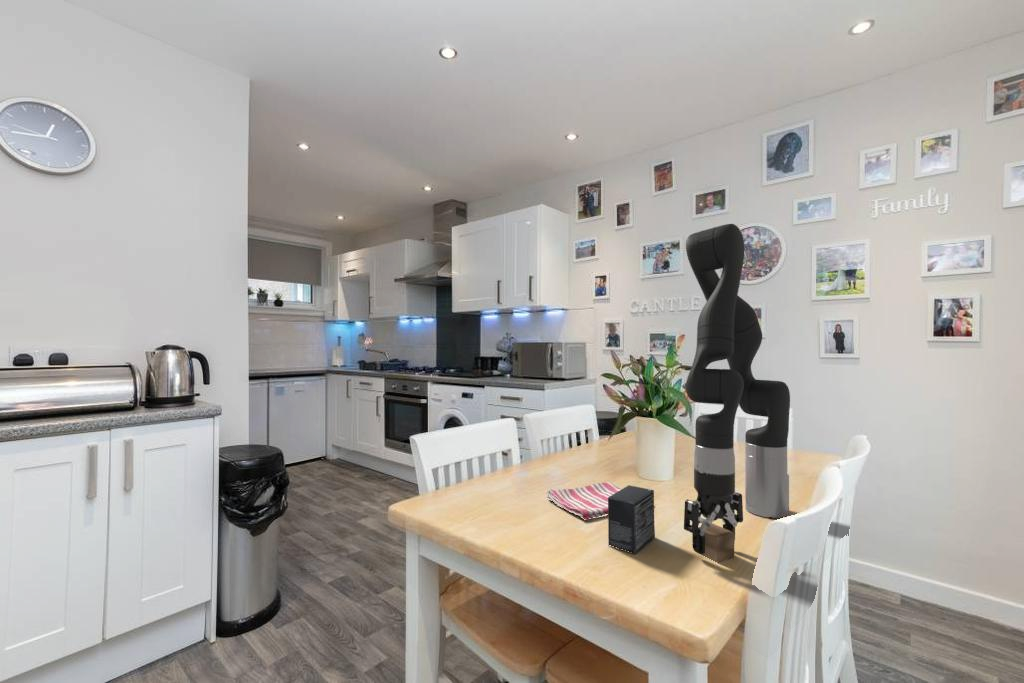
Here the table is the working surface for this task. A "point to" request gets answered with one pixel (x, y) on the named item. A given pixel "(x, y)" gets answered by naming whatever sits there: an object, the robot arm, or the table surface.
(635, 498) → the small box
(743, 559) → the table surface
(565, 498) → the dish towel
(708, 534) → the walnut block
